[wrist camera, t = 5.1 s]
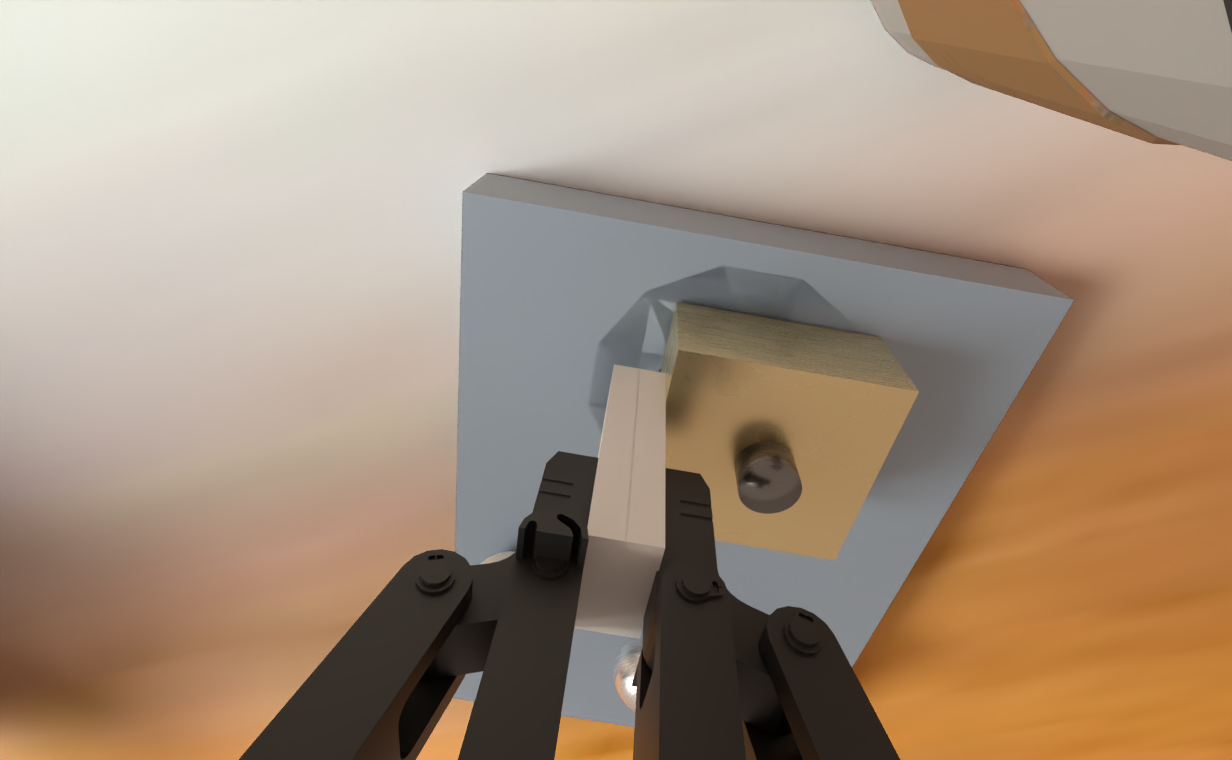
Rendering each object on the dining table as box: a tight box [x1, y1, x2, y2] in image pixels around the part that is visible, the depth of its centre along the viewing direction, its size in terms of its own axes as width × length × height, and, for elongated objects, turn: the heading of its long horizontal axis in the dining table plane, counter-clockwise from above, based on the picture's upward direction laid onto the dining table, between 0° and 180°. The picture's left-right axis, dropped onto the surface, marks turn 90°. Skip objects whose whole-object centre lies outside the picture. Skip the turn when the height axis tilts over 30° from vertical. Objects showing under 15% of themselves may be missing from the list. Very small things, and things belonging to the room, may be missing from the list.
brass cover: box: [660, 302, 919, 560], centre depth 17 cm, size 6×6×4 cm
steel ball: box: [613, 629, 643, 711], centre depth 23 cm, size 3×3×3 cm
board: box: [453, 173, 1074, 727], centre depth 23 cm, size 17×24×2 cm
